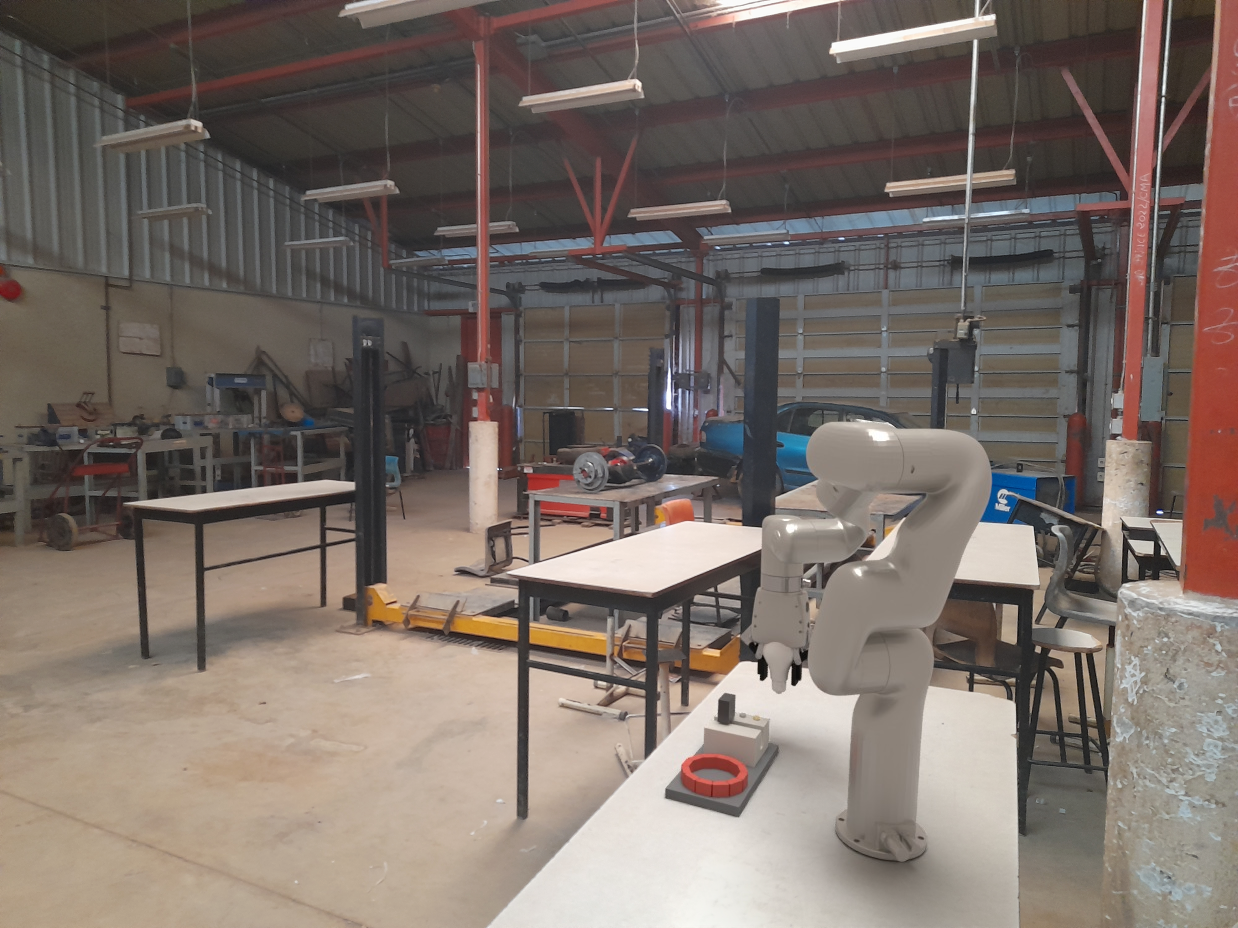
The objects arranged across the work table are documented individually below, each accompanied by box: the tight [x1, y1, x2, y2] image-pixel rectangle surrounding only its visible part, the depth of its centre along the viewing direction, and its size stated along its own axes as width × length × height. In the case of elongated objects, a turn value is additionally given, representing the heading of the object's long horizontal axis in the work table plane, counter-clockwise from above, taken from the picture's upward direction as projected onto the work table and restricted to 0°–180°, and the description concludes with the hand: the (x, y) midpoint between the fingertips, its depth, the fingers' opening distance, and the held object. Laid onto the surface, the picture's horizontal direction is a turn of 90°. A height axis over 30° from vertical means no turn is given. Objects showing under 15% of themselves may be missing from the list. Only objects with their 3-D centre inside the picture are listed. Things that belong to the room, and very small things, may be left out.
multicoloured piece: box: [664, 711, 780, 817], centre depth 131 cm, size 24×12×7 cm, turn 154°
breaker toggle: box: [717, 692, 737, 724], centre depth 137 cm, size 4×2×7 cm, turn 154°
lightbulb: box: [763, 642, 794, 695], centre depth 143 cm, size 6×6×11 cm
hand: (779, 680), depth 143 cm, fingers closed on lightbulb, 5 cm apart
